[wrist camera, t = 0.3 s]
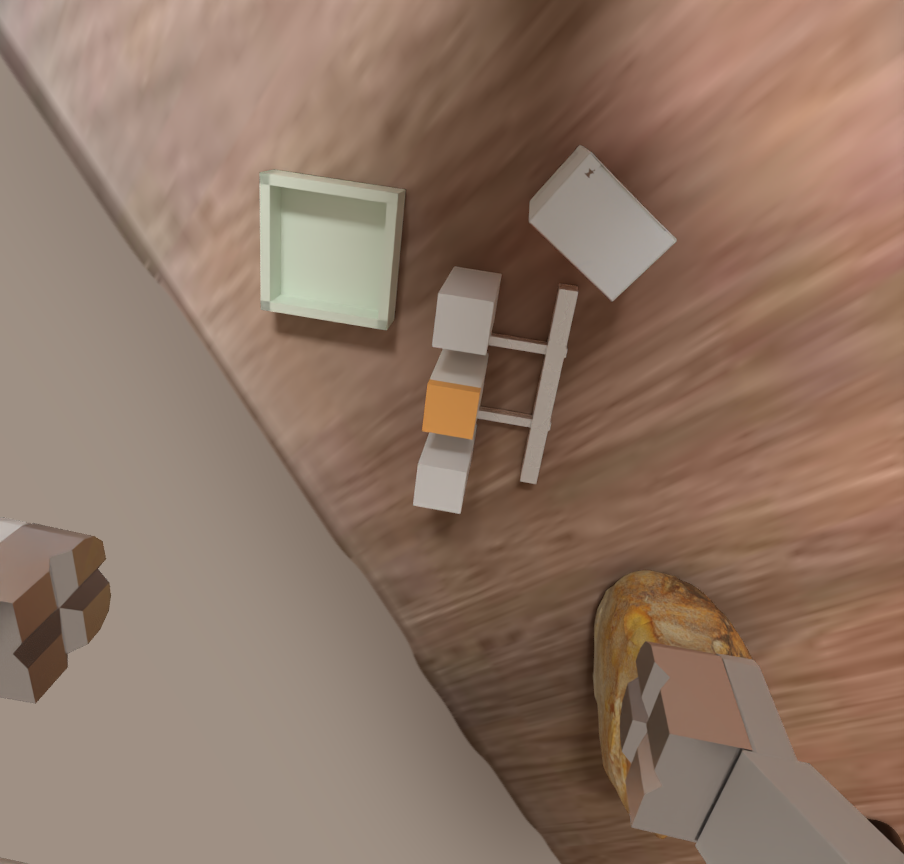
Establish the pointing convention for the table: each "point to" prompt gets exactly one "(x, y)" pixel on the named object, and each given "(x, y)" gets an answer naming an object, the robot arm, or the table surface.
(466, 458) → the block
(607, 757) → the rough brown rock
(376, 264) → the tray
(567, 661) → the table surface
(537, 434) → the rail
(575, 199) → the small box
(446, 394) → the block
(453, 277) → the block
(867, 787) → the table surface
